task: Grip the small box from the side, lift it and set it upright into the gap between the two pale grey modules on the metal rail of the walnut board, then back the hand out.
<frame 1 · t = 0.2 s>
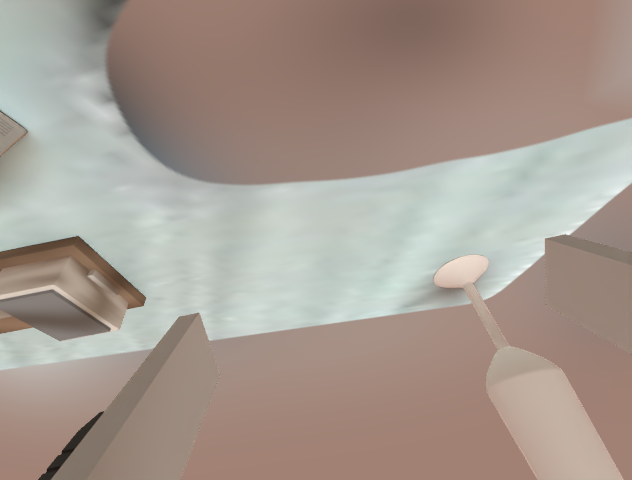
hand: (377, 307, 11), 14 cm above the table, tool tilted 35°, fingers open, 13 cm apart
champagne flute: (459, 271, 37), on the table
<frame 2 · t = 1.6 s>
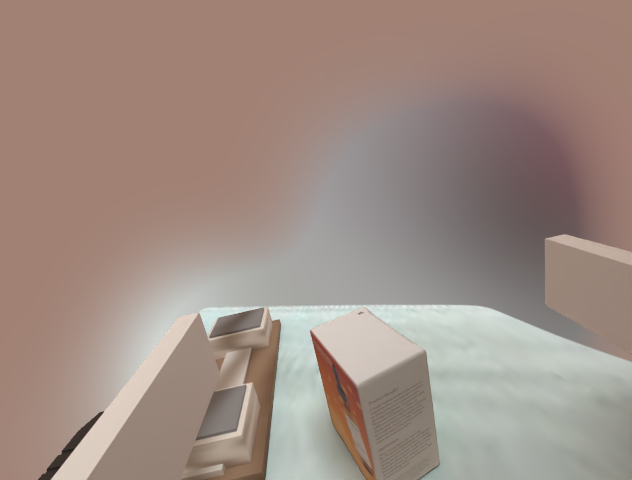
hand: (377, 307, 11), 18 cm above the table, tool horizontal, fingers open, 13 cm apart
small box: (381, 445, 25), on the table
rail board: (235, 386, 36), on the table
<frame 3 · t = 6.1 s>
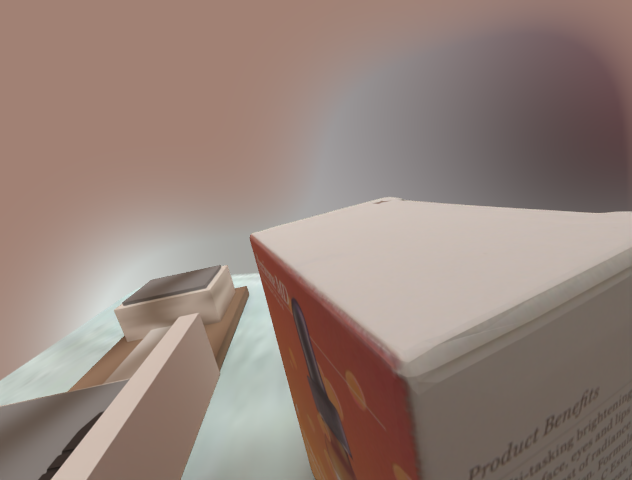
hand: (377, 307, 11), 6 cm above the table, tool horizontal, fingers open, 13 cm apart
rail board: (148, 384, 20), on the table
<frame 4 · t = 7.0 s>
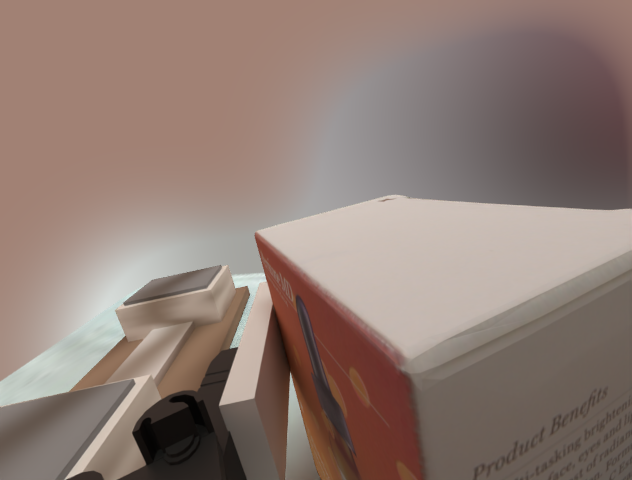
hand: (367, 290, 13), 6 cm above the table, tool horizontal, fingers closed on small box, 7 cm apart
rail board: (149, 384, 20), on the table
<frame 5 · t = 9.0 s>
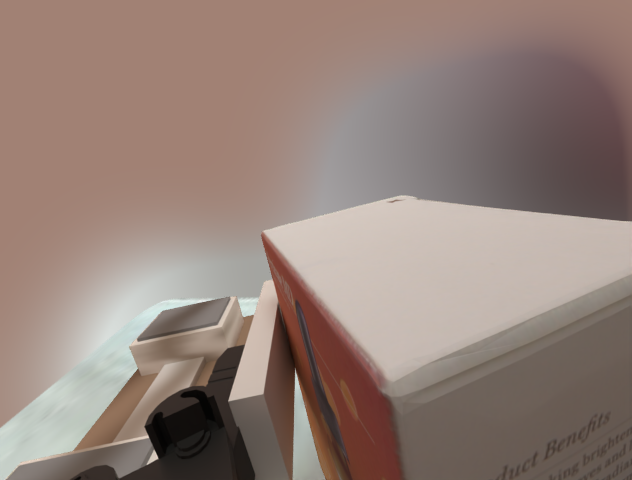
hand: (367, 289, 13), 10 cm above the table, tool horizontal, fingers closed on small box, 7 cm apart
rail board: (165, 424, 21), on the table
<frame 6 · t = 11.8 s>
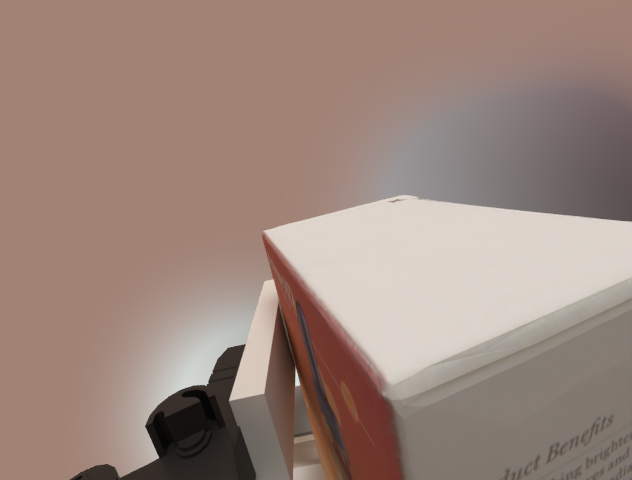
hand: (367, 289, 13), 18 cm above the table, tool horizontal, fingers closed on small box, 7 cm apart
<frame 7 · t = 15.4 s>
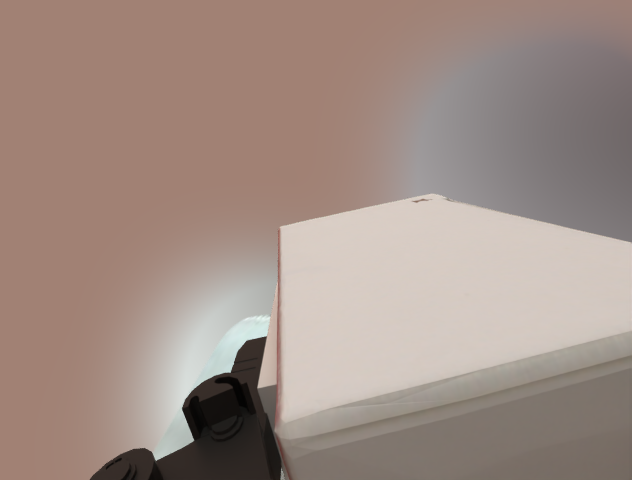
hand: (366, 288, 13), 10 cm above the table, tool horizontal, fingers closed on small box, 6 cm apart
when the fingers open (10 cm above the table, at t = 15.4 s): small box drops 2 cm, resting on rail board.
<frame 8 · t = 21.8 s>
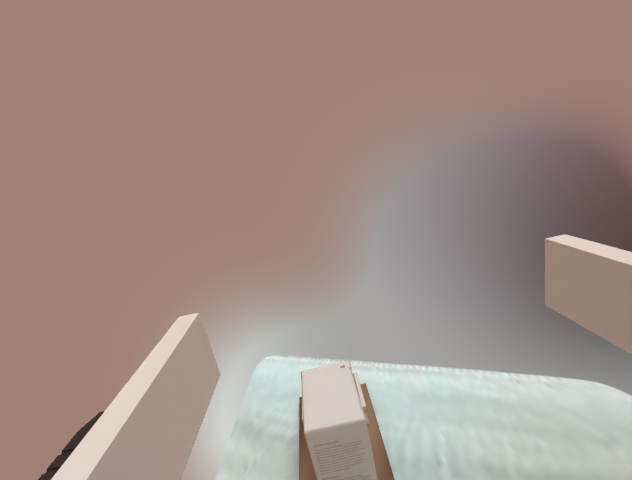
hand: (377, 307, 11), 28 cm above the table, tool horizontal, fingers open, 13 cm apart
small box: (347, 472, 32), point 1 cm above the table, touching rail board
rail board: (345, 478, 33), on the table
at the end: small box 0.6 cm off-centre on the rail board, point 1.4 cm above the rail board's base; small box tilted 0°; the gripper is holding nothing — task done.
